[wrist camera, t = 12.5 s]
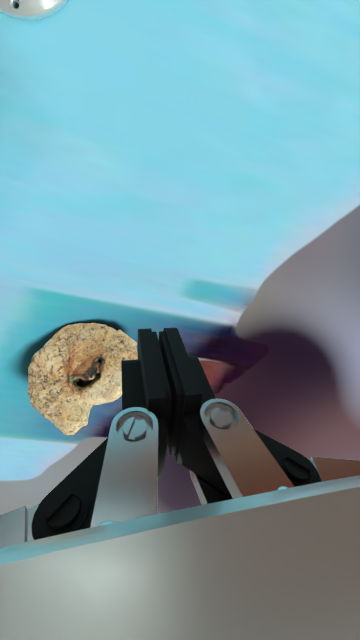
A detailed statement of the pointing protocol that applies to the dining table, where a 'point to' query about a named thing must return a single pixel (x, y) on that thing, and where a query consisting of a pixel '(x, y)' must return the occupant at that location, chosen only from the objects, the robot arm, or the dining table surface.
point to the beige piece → (78, 373)
